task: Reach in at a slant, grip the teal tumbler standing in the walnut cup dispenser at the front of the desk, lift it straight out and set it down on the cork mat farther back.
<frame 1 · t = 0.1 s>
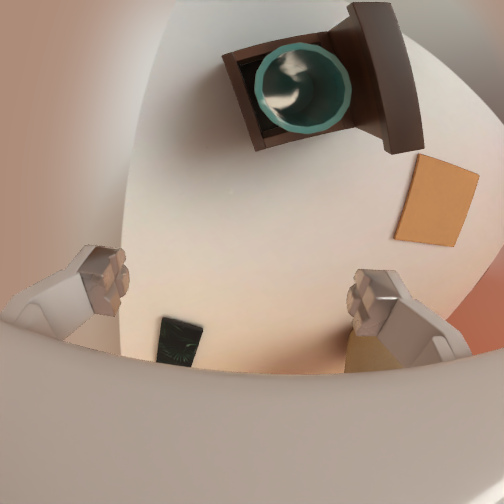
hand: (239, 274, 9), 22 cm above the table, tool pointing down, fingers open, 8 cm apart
smartphone: (177, 345, 46), on the table
mat: (439, 204, 31), on the table
plant pot: (367, 331, 44), on the table
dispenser: (286, 88, 24), on the table
cup: (286, 88, 24), resting in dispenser
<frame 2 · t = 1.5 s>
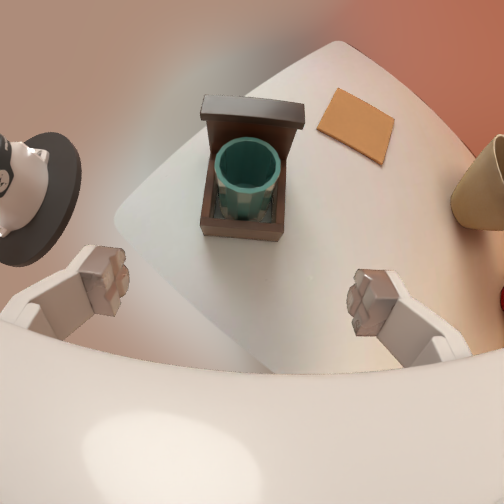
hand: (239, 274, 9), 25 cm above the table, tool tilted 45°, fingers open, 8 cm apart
mat: (358, 123, 41), on the table
plant pot: (461, 209, 40), on the table
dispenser: (243, 203, 37), on the table
cup: (243, 203, 37), resting in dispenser
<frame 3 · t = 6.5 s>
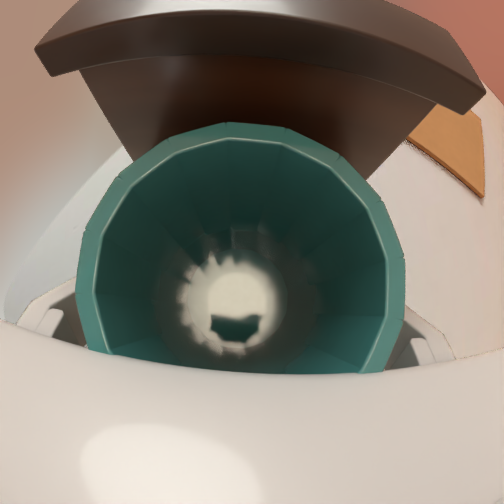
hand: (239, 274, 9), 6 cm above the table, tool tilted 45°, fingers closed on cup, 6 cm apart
mat: (441, 120, 20), on the table
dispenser: (237, 299, 15), on the table
cup: (237, 298, 15), resting in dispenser, touching gripper
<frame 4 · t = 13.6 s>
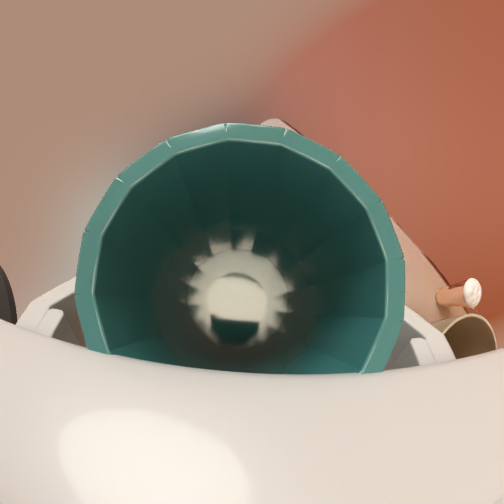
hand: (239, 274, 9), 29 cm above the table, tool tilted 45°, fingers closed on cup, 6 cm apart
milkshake: (440, 298, 39), on the table
plant pot: (395, 360, 37), on the table
cup: (237, 299, 15), point 22 cm above the table, touching gripper
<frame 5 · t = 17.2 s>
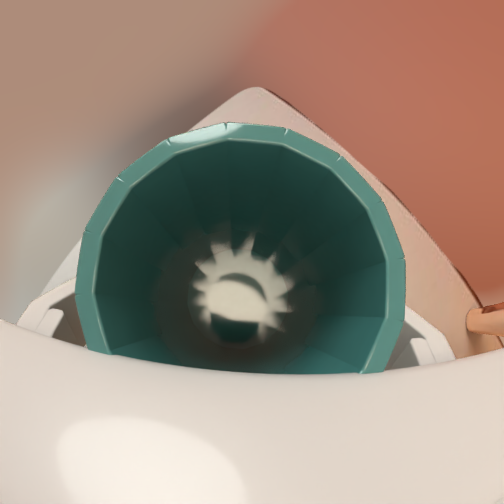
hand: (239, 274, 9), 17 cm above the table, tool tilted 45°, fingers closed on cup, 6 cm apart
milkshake: (471, 323, 27), on the table
cup: (237, 299, 15), point 11 cm above the table, touching gripper
when the fingers open (7 cm above the table, at t = 20.5 s): cup stays where it is, resting on mat.
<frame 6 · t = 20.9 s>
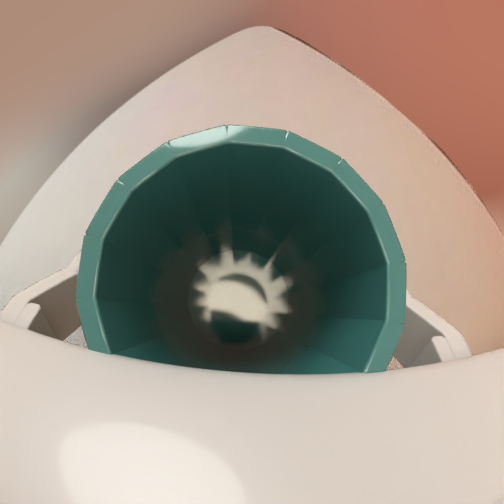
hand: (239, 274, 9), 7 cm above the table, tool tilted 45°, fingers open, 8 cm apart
cup: (238, 300, 15), resting on mat
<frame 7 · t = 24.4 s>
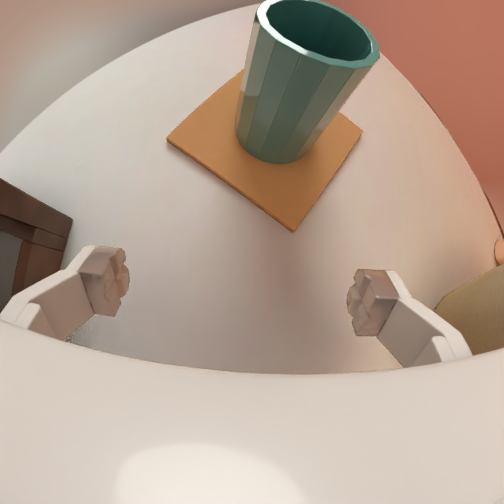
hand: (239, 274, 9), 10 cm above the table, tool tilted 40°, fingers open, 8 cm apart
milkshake: (498, 255, 24), on the table
mat: (272, 131, 21), on the table
plant pot: (449, 328, 22), on the table
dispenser: (14, 280, 16), on the table
cup: (274, 129, 20), resting on mat
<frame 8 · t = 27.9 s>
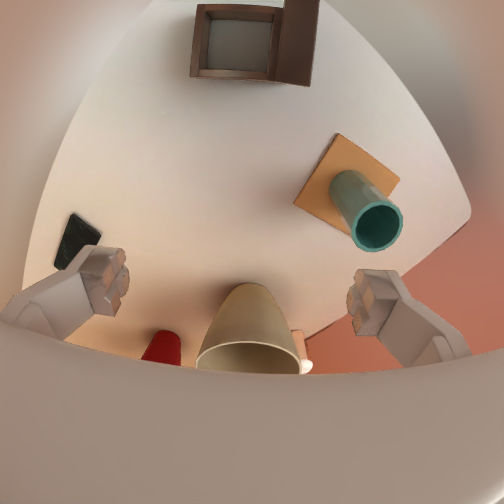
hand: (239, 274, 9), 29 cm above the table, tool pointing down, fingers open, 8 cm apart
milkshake: (294, 333, 55), on the table
smartphone: (76, 249, 44), on the table
mat: (349, 189, 38), on the table
plant pot: (249, 296, 49), on the table
plastic cup: (167, 337, 57), on the table
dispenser: (238, 45, 27), on the table
cup: (349, 190, 37), resting on mat
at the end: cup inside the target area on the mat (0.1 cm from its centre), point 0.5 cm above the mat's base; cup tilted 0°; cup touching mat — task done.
